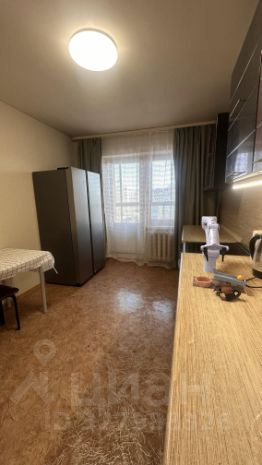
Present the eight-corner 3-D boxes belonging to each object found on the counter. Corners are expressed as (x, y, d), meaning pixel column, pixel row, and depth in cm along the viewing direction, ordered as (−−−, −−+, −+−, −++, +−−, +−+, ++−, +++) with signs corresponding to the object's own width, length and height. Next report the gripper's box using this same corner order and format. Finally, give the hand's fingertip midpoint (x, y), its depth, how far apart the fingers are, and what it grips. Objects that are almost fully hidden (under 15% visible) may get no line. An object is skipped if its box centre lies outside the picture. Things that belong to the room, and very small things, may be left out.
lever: (211, 272, 118) (213, 265, 117) (239, 279, 113) (241, 272, 112) (212, 281, 106) (214, 274, 105) (244, 289, 101) (246, 281, 100)
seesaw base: (193, 277, 121) (194, 270, 120) (241, 283, 112) (241, 276, 112) (192, 287, 108) (192, 280, 107) (245, 295, 100) (246, 287, 99)
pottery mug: (215, 303, 93) (211, 285, 96) (216, 303, 102) (213, 286, 104) (244, 301, 89) (239, 282, 92) (242, 301, 97) (238, 284, 100)
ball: (235, 277, 106) (238, 273, 105) (241, 280, 105) (244, 276, 104) (236, 280, 103) (239, 275, 102) (242, 283, 102) (245, 278, 102)
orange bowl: (195, 279, 116) (195, 275, 116) (211, 281, 113) (211, 277, 113) (194, 285, 108) (195, 281, 108) (211, 288, 105) (212, 283, 105)
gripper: (200, 236, 117) (201, 256, 109) (228, 236, 112) (230, 257, 104) (200, 243, 122) (201, 262, 114) (226, 243, 117) (229, 264, 109)
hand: (215, 260), depth 109 cm, fingers open, 7 cm apart
